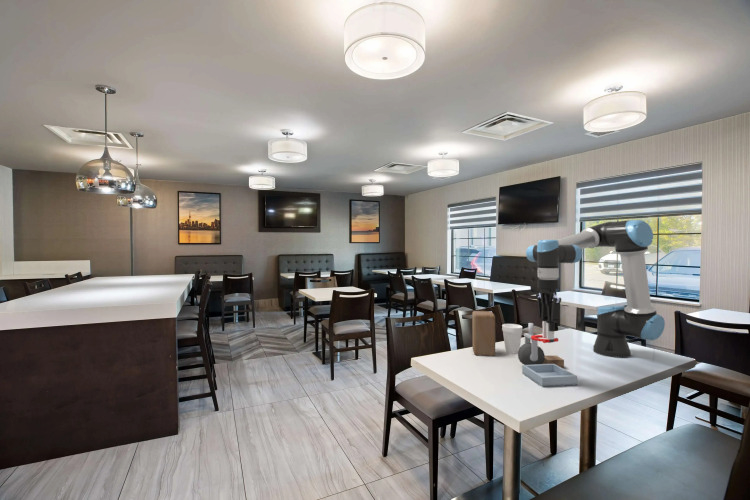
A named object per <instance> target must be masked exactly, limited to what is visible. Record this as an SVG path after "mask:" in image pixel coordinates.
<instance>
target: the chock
mask: <svg viewBox="0 0 750 500" xmlns="http://www.w3.org/2000/svg"><path fill="white" fill-rule="evenodd" d="M543 364H555V365H557V366H559V367H561V368H563V369H565V359H563V358H562V357H561V356H559V355H545V358H544V362H543Z"/></svg>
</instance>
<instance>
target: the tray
mask: <svg viewBox="0 0 750 500" xmlns="http://www.w3.org/2000/svg"><path fill="white" fill-rule="evenodd" d="M521 368H522V369H521V370H522V372H521V374H522V375H524V376H525V377H527V378H528V379H529V380H531V381H532V382H534V383H536V384H537V385H539V387H541V388H546V387H547V388H548V387H550V388H551V387H567V386H569V387H570V386H571V387H572V386H578V375H577V374H574V373H572V372H570V371H568V370H567V369H566V368H564V369H563V368H561V367H559V366H557V365H555V364H537V365H524V364H522V365H521Z"/></svg>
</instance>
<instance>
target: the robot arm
mask: <svg viewBox="0 0 750 500" xmlns="http://www.w3.org/2000/svg"><path fill="white" fill-rule="evenodd" d="M653 239H654V232H653V230H652V227H651V226H650V224H648V223H647V222H646V221H644V220H641V219H635V220H634V219H629V220H618V221H608V222H603V223H599V224H596V225H592V226H590V227H587V228H584V229H583V230H581V232H578V233H574V234H572V235H568V236H565V237H562V238H559V239H540V240H538V241H537V244H534V245H529V246H528V247H527V248H526V249H525V250H526V251H525V255H526V259H527V260H528V261H529V262H534V263H537V278H538V279H537V289H540V290H539V293H535V297H536V304H537V314H538V318H539V319H540V320H541V322H542V323H541V327H542V335H543V338H542V339H554V338H555V323H558V322H559V319H560V308H561V302H562V297H558V295H557V294H558V293H557V290H559V287H560V286H559V285H560V280H559V278H560V272H559V271H560V270H559V269H560V267H559V266H560V265H559V264H576V263H579V262H580V261H581V260H582V257H583V250H584V249H587V248H588V249H594V248H597V247H598V248H601V247H607V248H609V247H611V248H615V253H617V254H618V255H619V256H620V263H621V270H622V277H623V283H624V288H625V296H626V298H625V299H626V306H624V305H603V306H599V307H598V308H597V310H596V311H597V313H596V317H597V318H596V319H597V320H596V322H597V323H596V325H597V329H596V330H597V335H596V339H595V341H594V344H593V346H592V347H593V349H592V350H593V352H594V353H596V354H599V355H602V356H605V357H611V358H629V357H631V354H632V353H631V349H630V347H629V344H628V341H627V336H630V337H634V338H638V339H641V340H649V341H656V340H658V339H659V338H660V337H661V335H662V334H663V332H664V331H665V326H666V323H665V317H663V316H662V315H660V314H658V313H657V309H656V307H655V306H653V305H652V301H651V295H650V294H651V293H650V289H649V288H650V286H649V281H648V273H647V265H646V256H645V253H646V252H647V251H648V250H649V246H651V244H652V243H653Z"/></svg>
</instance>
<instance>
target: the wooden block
mask: <svg viewBox="0 0 750 500" xmlns="http://www.w3.org/2000/svg"><path fill="white" fill-rule="evenodd" d="M471 318H472V327H471V328H472V335H471V336H472V351H473V355H475V356H483V357H484V356H487V357H490V356H491V357H494V356H495V355H496V316H495V314H494V313H493V312H492V311H486V310H485V311H484V310H483V311H482V310H481V311H479V310H473V311H472V317H471Z"/></svg>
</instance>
